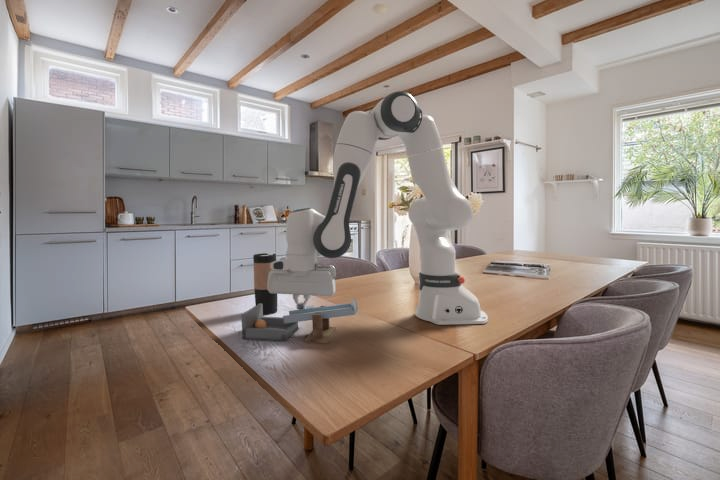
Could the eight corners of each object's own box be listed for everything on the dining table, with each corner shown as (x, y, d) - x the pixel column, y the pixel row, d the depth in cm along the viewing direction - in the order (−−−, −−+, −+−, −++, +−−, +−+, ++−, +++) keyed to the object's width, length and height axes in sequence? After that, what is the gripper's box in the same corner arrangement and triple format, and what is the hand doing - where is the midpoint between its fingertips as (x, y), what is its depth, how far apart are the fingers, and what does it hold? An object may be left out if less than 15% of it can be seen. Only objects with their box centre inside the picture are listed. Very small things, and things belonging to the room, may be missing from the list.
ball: (255, 324, 101) (264, 330, 101) (250, 328, 98) (259, 334, 98) (261, 315, 101) (269, 321, 100) (256, 319, 98) (265, 325, 97)
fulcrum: (336, 329, 101) (335, 305, 101) (327, 343, 91) (326, 316, 90) (316, 328, 102) (315, 304, 102) (305, 342, 92) (304, 315, 91)
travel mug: (257, 316, 115) (255, 256, 113) (253, 310, 122) (251, 254, 120) (280, 313, 119) (278, 254, 117) (275, 307, 125) (273, 252, 124)
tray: (298, 327, 103) (297, 304, 103) (284, 341, 93) (283, 315, 92) (260, 326, 105) (259, 303, 105) (242, 339, 94) (241, 314, 94)
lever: (361, 302, 104) (360, 293, 104) (354, 314, 92) (353, 304, 92) (298, 310, 107) (297, 301, 107) (284, 323, 95) (282, 313, 95)
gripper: (338, 262, 104) (337, 308, 105) (273, 260, 107) (273, 304, 108) (333, 266, 98) (333, 314, 99) (264, 263, 101) (265, 310, 102)
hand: (301, 309), depth 104 cm, fingers closed
